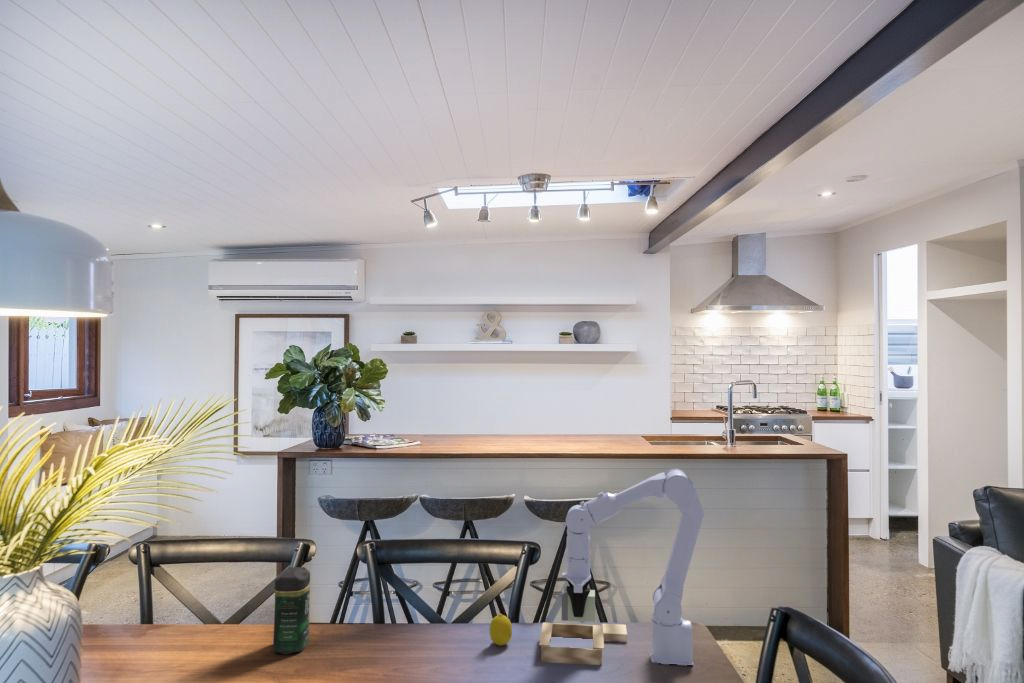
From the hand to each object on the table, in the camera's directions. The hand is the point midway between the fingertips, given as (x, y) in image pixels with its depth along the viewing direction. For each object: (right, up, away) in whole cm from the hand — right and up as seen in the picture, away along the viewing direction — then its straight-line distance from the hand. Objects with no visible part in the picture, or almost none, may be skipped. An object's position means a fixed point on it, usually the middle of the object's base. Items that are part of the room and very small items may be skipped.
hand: (578, 612), depth 160 cm
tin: (0, -1, 0) cm, 1 cm away
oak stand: (+10, -9, +6) cm, 15 cm away
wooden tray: (-2, -9, -1) cm, 9 cm away
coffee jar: (-70, -9, +2) cm, 71 cm away
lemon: (-19, -9, +2) cm, 21 cm away
